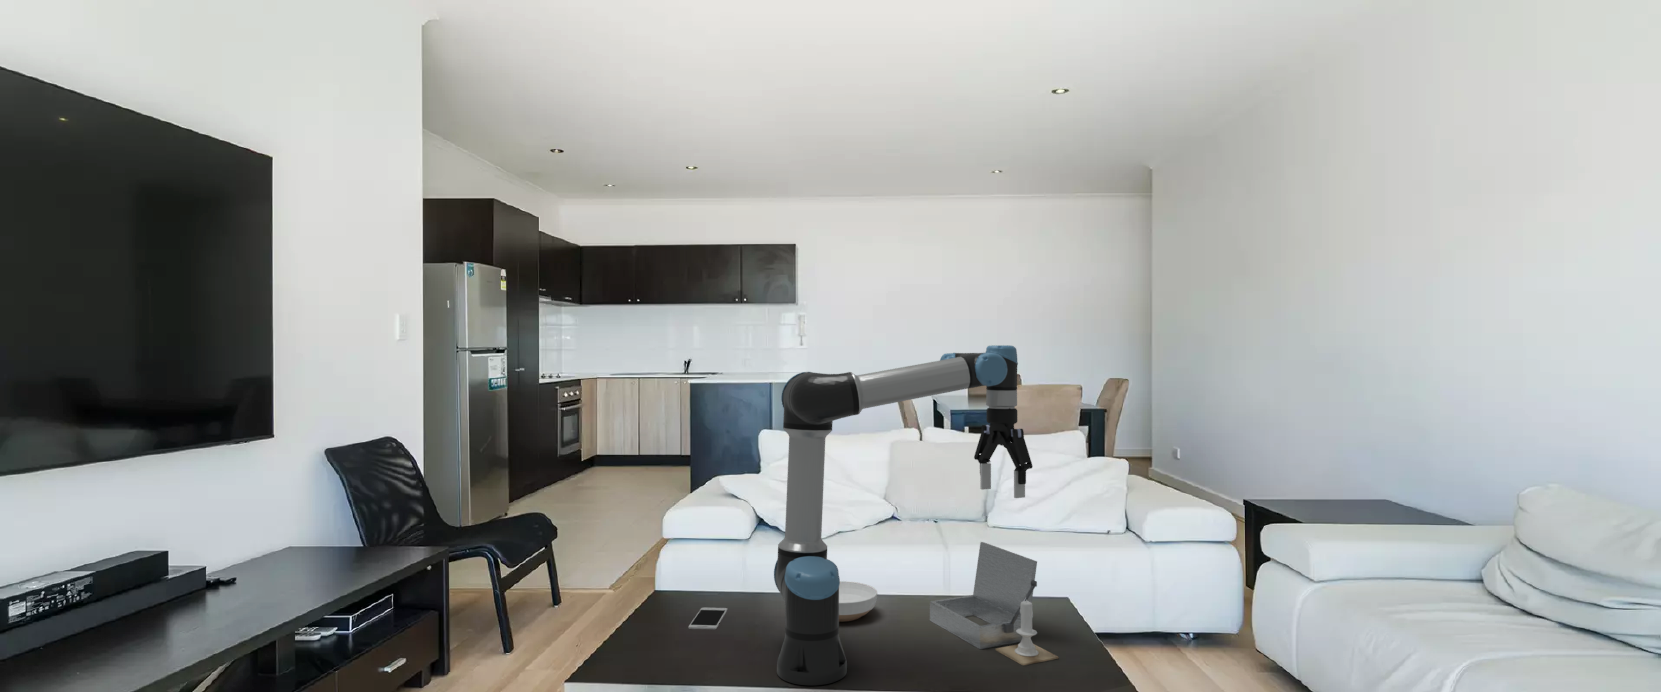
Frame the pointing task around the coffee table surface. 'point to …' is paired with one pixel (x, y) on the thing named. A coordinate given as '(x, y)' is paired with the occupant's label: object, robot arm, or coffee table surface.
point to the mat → (1025, 660)
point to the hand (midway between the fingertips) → (1002, 493)
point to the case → (990, 599)
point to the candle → (1026, 631)
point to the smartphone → (708, 618)
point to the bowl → (855, 600)
